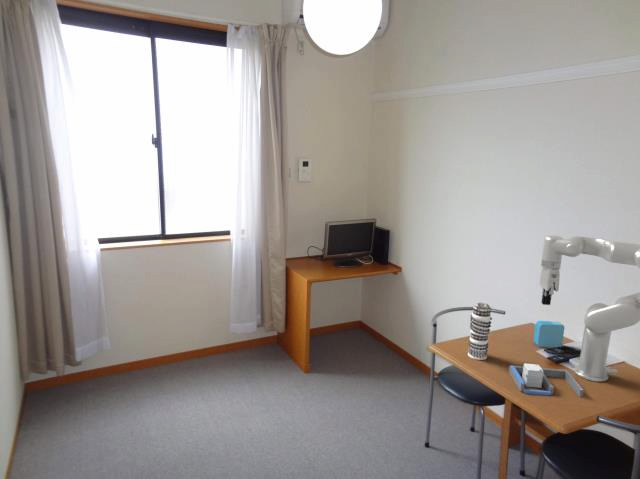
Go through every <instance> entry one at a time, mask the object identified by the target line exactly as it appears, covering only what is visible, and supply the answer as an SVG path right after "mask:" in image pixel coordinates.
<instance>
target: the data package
mask: <svg viewBox="0 0 640 479" xmlns="http://www.w3.org/2000/svg"><path fill="white" fill-rule="evenodd" d="M564 334H565V325H564V324H562V322H560V321H556V320H555V321H552V320H537V321H536V322H535V326H534V335H533V343H534V344H535V345H536V346H538V348H553V347H560V348H561V347H562V346H563V340H564ZM553 349H554V348H553Z"/></svg>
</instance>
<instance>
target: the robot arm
mask: <svg viewBox="0 0 640 479" xmlns="http://www.w3.org/2000/svg"><path fill="white" fill-rule="evenodd" d="M580 255H589V256H594V257H598V258H602V259H603V260H604V261H607V262H610V263H612V264H619V265H620V264H622V265H629V266H636V267H637V268H638V269H639V270H640V244H638V243H628V242H627V243H626V242H621V241H612V240H607V239H600V238H595V237H587V236H578V235H577V236H572V237H569V238H567V239H566V238H563V237H562V236H559V235H558V236H557V235H546V236H545V237H544V240H543V249H542V255H541V256H542V257H541V263H540V265H541V266H540V267H541V270H540V271H541V272H540V276H539V285H540V287H541V289H542V292H541V295H542V296H541V304H542V305H543V306H544V305H545V306H551V302H552V296H553V295H554V293H555V292H559V286H560V277H561V276H560V269H561V265H562V258H563V256H565V257H569V258H570V257H571V258H576V257H578V256H580ZM583 322H584V329H583V335H582V336H583V337H582V340H581V341H582V342H581V349H580V354H579V362H578V365H576V366H575V367H574V368H573V372H574V374H576V375H577V376H579V378H583V379H586V380H589V381H592V382H605V381H609V380H608V379H609V375H610V374H612V375H617V374H618V369H616V368H615V369H614V368H612V367H611V366H607V365H606V364H607V359H608V355H609V354H608V353H609V346H610V340H611V334H612V332H614V331H618V330H621V329H625V328H628V327H632V326H635V325H636V324H638V323H639V322H640V292H637V293H634V294H630V295H626V296H621V297H620V298H617V300H616V301H615V303H614V304H612V305H611V304H610V305H608V304H605V303H603V302H602V303H601V302H600V303H598V302H596V303H592V304H591V305H590V306H589V307H588V309H587V310H586V313H585V315H584V318H583ZM578 366H579V367H578Z"/></svg>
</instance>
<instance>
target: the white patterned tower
mask: <svg viewBox="0 0 640 479" xmlns="http://www.w3.org/2000/svg"><path fill="white" fill-rule="evenodd" d="M491 311H492V307H490V305H489V304H488V303H485V302H477V303H476V304H474V305H473V306H472V313H471V314H470V323H469V324H470V325H469V329H470V330H469V331H470V336H469V340H468V342H469V343H468V347H467V352H468V353H467V356H468V357H470V358H472V359H474V360H478V361H481V360H482V361H484V360H487V358H488V351H489V350H488V348H489V335H490V332H491V329H490V328H491V327H492V326H491V324H492V321H491V320H493V317H491V316H492V315H491Z"/></svg>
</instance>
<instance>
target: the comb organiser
mask: <svg viewBox="0 0 640 479" xmlns="http://www.w3.org/2000/svg"><path fill="white" fill-rule="evenodd" d="M523 367H524V365H523V366H522V365H521V366H520V365H509V368H508V372H509V374H510V375H509V376H511V378H512V379H513V381H514V383H515V386H517V389H518V390H519V392H520V393H521V392H522V393H523V394H531V395H543V396H552V395H554V390H555V389H554V388H555V387H554V385H552V382H551V381H550V380H549V379H548V377H549V376H550V377H551V378H552V377H553V378H561V379H564V380H566V381H565V382H567V383H568V385H569V386H570V387H571V388H572V389H573V391H574V392H575V393H576V394H577V395H578V397H580V398H583V397H584V393H585V390H584V388H583V387H582V386H581V385H580V384H579V382H577V380H576V379H575V378H574V377H573V375H572V374H571V373H570V372H569V370H567V369H559V368H558V369H555V368H547V367H541V368H542V370H543V379H542V386H543V387H544V388H545V390H540V389H530V388H525V386H526V385H525V383H524V381H523V380H522V376H521V375H522V374H523ZM550 377H549V378H550Z"/></svg>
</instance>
